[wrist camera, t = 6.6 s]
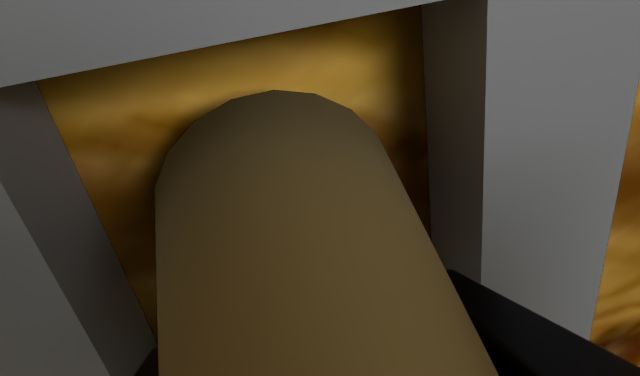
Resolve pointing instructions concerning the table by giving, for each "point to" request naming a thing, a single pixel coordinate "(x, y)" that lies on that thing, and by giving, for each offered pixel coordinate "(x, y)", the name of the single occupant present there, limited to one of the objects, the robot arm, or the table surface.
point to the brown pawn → (298, 252)
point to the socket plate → (442, 145)
